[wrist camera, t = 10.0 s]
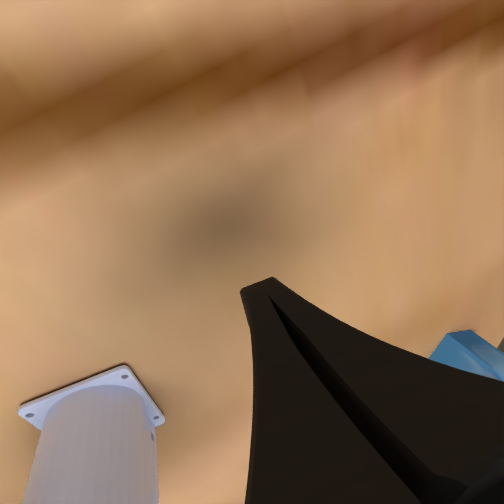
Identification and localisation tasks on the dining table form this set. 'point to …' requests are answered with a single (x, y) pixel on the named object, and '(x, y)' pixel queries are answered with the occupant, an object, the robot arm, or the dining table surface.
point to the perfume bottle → (470, 354)
